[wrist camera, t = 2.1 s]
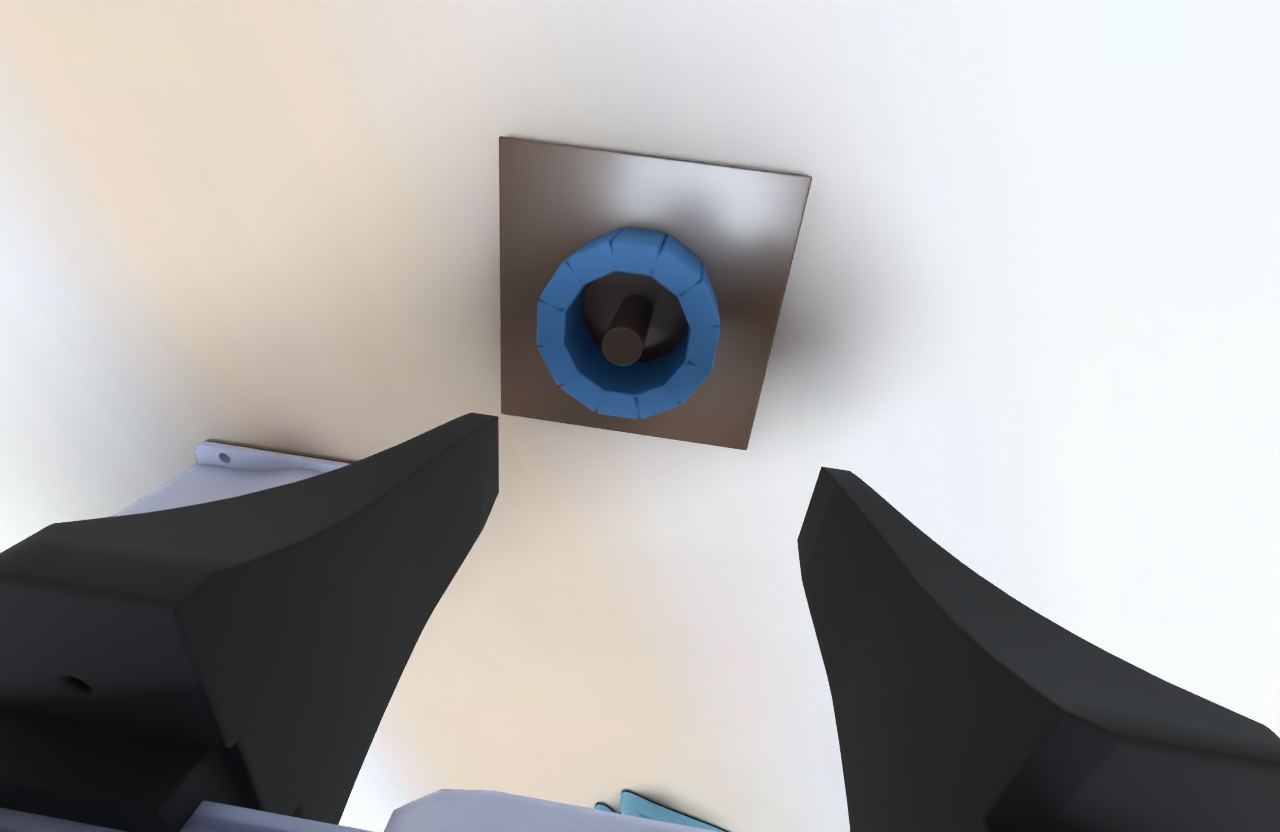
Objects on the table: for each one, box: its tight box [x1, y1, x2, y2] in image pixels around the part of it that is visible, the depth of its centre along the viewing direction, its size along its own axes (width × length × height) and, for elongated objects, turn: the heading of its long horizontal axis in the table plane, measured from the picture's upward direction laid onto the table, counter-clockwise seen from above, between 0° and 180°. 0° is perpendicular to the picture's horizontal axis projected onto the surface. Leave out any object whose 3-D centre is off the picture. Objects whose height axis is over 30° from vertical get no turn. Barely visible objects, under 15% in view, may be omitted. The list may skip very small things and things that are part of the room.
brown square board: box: [499, 136, 812, 450], centre depth 17 cm, size 10×10×5 cm
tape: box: [537, 227, 720, 419], centre depth 17 cm, size 6×6×3 cm
